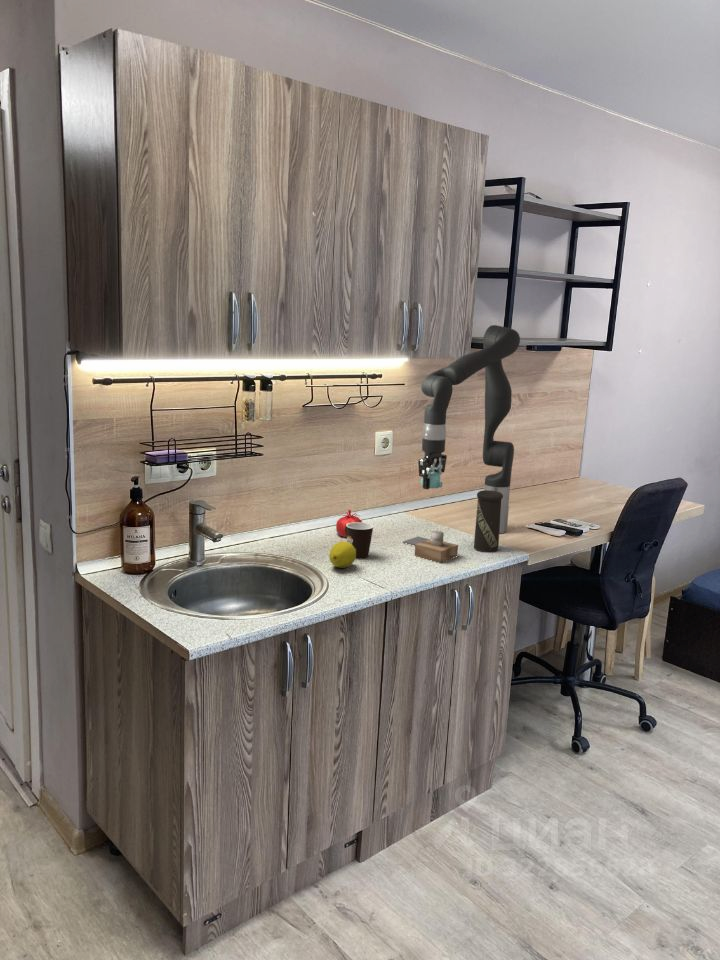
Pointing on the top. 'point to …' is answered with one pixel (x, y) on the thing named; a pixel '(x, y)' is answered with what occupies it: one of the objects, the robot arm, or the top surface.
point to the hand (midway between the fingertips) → (431, 487)
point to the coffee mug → (359, 537)
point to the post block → (436, 548)
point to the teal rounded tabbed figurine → (434, 480)
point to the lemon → (342, 554)
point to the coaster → (415, 540)
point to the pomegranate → (344, 521)
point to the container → (488, 521)
